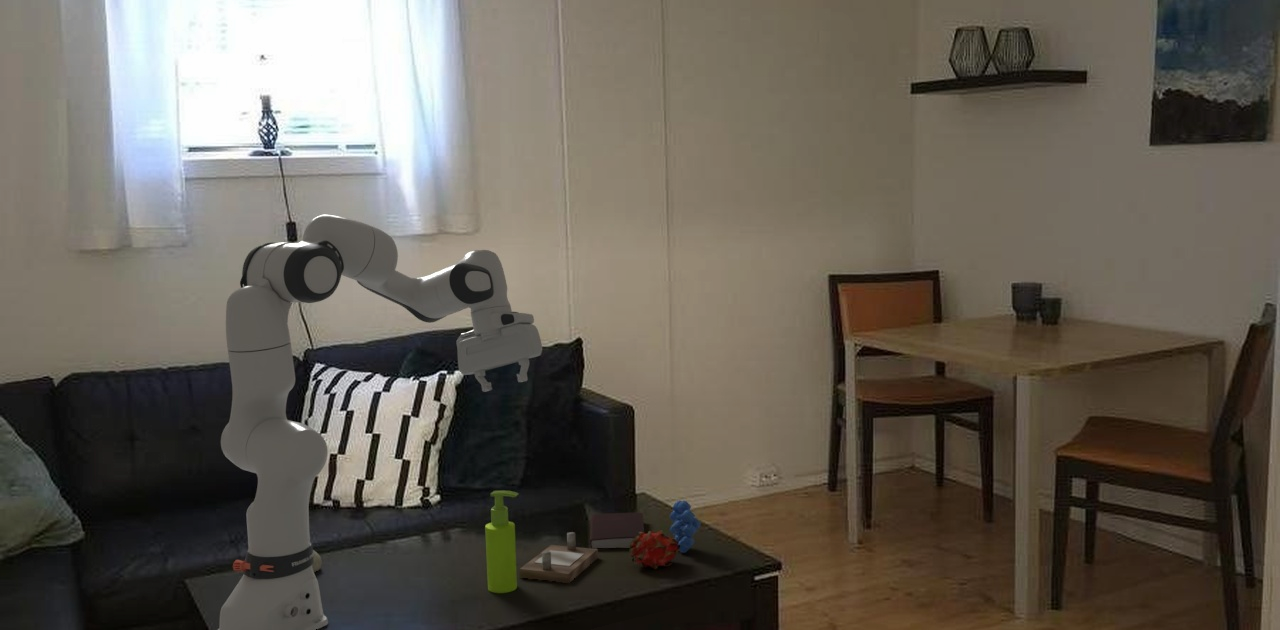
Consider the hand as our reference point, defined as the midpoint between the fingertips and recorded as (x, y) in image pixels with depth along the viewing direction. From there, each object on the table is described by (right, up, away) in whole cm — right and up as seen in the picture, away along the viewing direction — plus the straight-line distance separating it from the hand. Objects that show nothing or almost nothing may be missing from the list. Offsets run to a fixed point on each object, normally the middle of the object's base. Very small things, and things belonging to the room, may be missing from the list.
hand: (505, 386), depth 243 cm
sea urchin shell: (-43, -40, -2) cm, 59 cm away
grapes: (+40, -37, +4) cm, 54 cm away
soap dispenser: (+2, -40, -15) cm, 43 cm away
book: (+24, -36, +17) cm, 47 cm away
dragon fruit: (+32, -38, -4) cm, 50 cm away
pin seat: (+12, -38, -4) cm, 40 cm away
